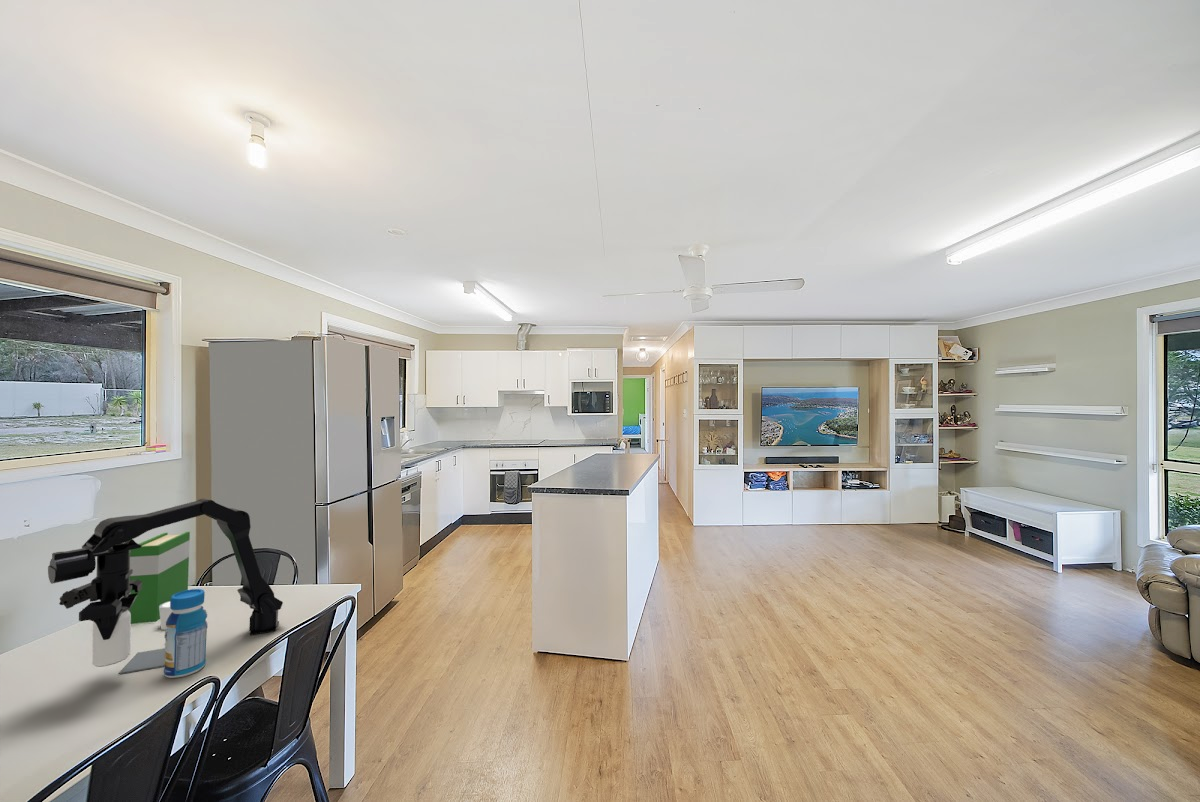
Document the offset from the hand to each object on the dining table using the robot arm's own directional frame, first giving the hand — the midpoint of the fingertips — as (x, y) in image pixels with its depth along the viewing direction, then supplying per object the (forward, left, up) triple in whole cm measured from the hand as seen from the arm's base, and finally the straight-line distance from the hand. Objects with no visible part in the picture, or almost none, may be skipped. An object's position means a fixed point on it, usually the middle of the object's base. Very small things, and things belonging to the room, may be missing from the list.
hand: (112, 633), depth 115 cm
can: (0, 0, -7) cm, 7 cm away
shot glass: (-2, -33, -13) cm, 36 cm away
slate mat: (-5, -10, -13) cm, 17 cm away
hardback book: (+6, -48, -13) cm, 50 cm away
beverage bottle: (-14, -1, -13) cm, 19 cm away
